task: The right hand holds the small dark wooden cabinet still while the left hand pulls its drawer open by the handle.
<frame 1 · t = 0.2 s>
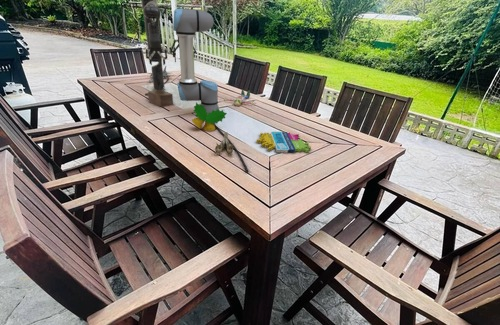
left hand: (157, 65, 187), 29 cm above the table, tool pointing down, fingers open, 8 cm apart
right hand: (184, 62, 211), 28 cm above the table, tool pointing down, fingers open, 13 cm apart
cabinet: (161, 103, 203), on the table
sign: (281, 143, 152), on the table
drawer: (156, 96, 204), point 4 cm above the table, slide at 0.6 cm
ornament: (209, 128, 165), on the table
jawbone: (224, 151, 138), on the table
airplane: (160, 79, 275), on the table
toy: (241, 101, 221), on the table
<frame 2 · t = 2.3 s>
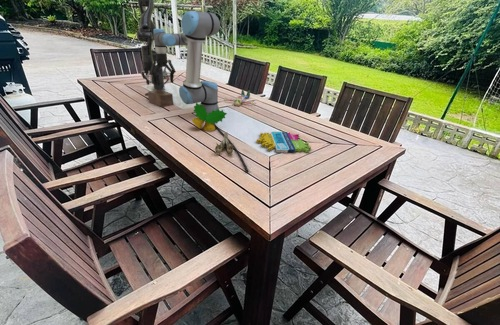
left hand: (150, 84, 204), 12 cm above the table, tool pointing down, fingers open, 3 cm apart
right hand: (164, 83, 196), 15 cm above the table, tool pointing down, fingers open, 13 cm apart
nothing on the table moved.
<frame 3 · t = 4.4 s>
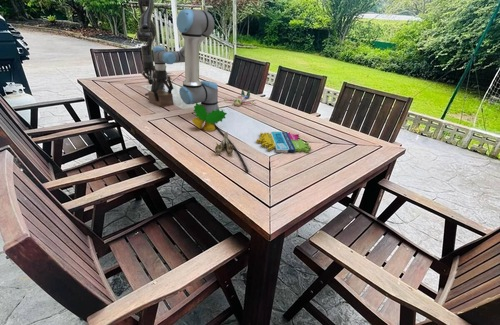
left hand: (150, 84, 204), 12 cm above the table, tool pointing down, fingers closed
right hand: (163, 99, 200), 3 cm above the table, tool pointing down, fingers closed on cabinet, 10 cm apart
cabinet: (161, 103, 203), on the table, touching right hand
everything else where it was.
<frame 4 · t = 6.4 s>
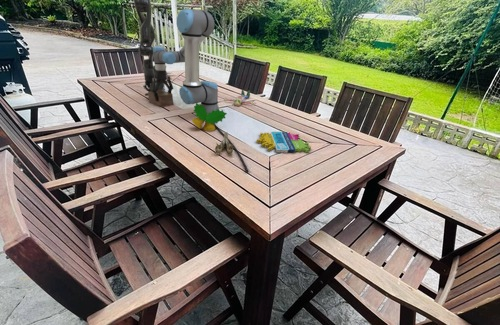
left hand: (152, 96, 209), 3 cm above the table, tool pointing down, fingers closed
right hand: (163, 99, 200), 3 cm above the table, tool pointing down, fingers closed on cabinet, 10 cm apart
cabinet: (161, 103, 203), on the table, touching right hand
drawer: (156, 96, 204), point 4 cm above the table, slide at 0.6 cm, touching left hand
everything else where it was.
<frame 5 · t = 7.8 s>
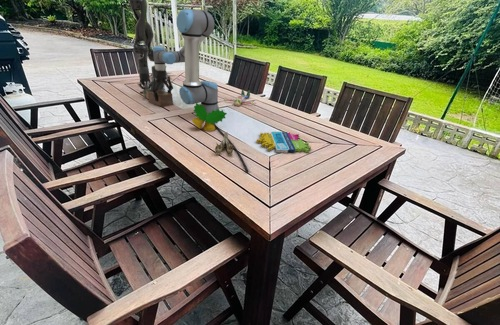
left hand: (146, 94, 213), 3 cm above the table, tool pointing down, fingers closed
right hand: (163, 99, 200), 3 cm above the table, tool pointing down, fingers closed on cabinet, 10 cm apart
cabinet: (161, 103, 203), on the table, touching right hand
drawer: (151, 94, 208), point 4 cm above the table, slide at 7.7 cm, touching left hand
everything else where it was.
when the right hand's fingers open (4 cm above the table, at t = 9.5 s): cabinet stays where it is, on the table.
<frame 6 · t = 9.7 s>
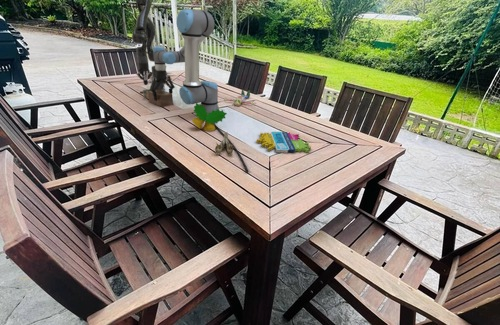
left hand: (145, 84, 209), 10 cm above the table, tool pointing down, fingers closed
right hand: (163, 99, 200), 4 cm above the table, tool pointing down, fingers open, 13 cm apart
cabinet: (161, 103, 204), on the table
drawer: (151, 94, 208), point 4 cm above the table, slide at 7.7 cm
everything else where it was.
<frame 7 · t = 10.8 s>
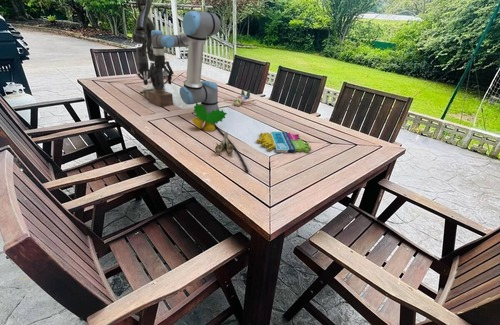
left hand: (145, 84, 209), 10 cm above the table, tool pointing down, fingers closed
right hand: (162, 85, 194), 14 cm above the table, tool pointing down, fingers open, 13 cm apart
nothing on the table moved.
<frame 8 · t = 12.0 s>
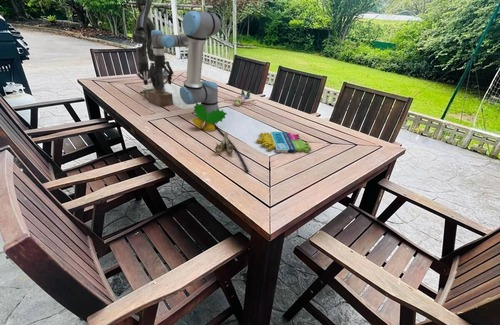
left hand: (145, 84, 209), 10 cm above the table, tool pointing down, fingers closed
right hand: (162, 85, 194), 14 cm above the table, tool pointing down, fingers open, 13 cm apart
nothing on the table moved.
at the end: drawer slide at 7.7 cm; cabinet tilted 0°; cabinet never tilted more than 2° during the clip; cabinet moved 0.3 cm from its start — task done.
